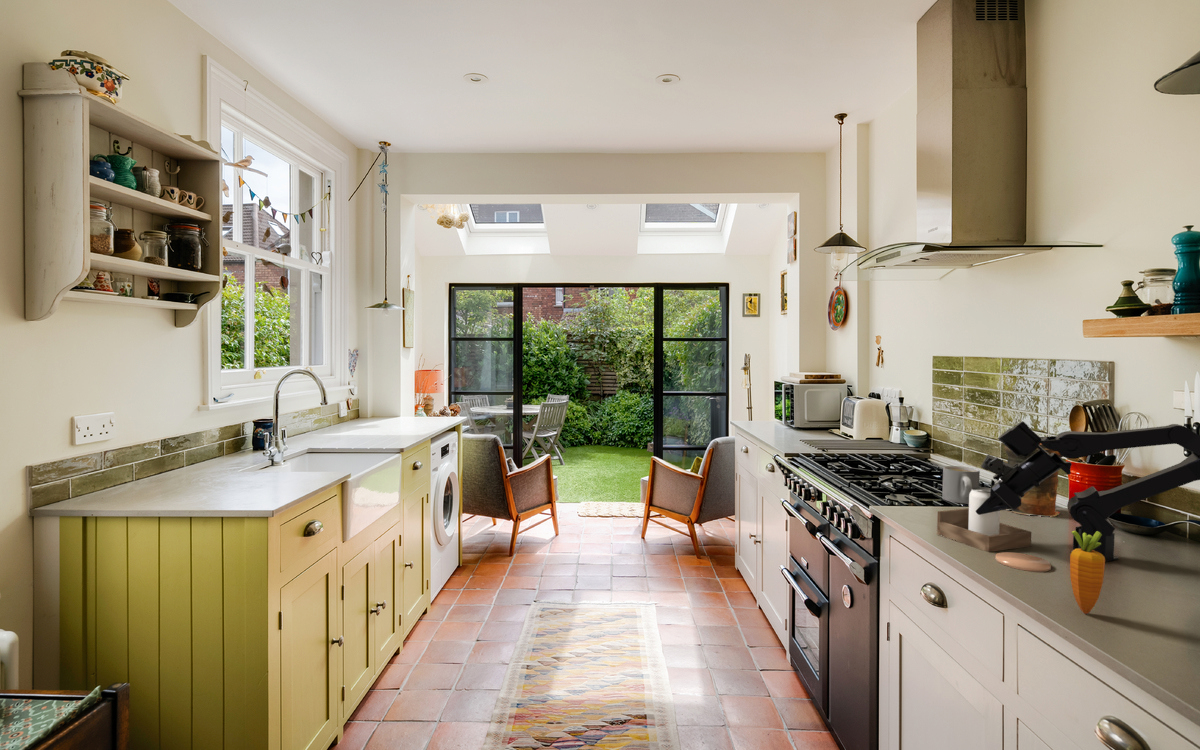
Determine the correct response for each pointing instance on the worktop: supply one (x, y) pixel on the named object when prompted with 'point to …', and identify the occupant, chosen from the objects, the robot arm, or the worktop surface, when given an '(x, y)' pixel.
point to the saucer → (1023, 561)
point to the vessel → (1037, 490)
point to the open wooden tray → (957, 529)
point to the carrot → (1087, 571)
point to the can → (983, 522)
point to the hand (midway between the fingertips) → (977, 510)
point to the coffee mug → (959, 483)
